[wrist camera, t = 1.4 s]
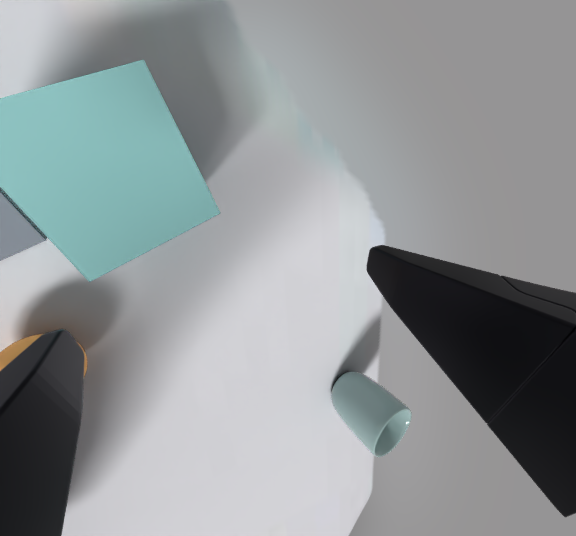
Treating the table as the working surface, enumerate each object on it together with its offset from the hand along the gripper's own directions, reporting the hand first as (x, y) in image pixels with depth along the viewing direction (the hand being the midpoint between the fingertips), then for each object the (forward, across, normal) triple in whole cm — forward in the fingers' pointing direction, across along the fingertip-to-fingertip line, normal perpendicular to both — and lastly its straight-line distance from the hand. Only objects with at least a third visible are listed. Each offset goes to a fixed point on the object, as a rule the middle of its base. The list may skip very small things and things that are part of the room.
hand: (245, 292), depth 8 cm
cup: (+13, -15, +36) cm, 41 cm away
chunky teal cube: (+16, +5, 0) cm, 17 cm away
